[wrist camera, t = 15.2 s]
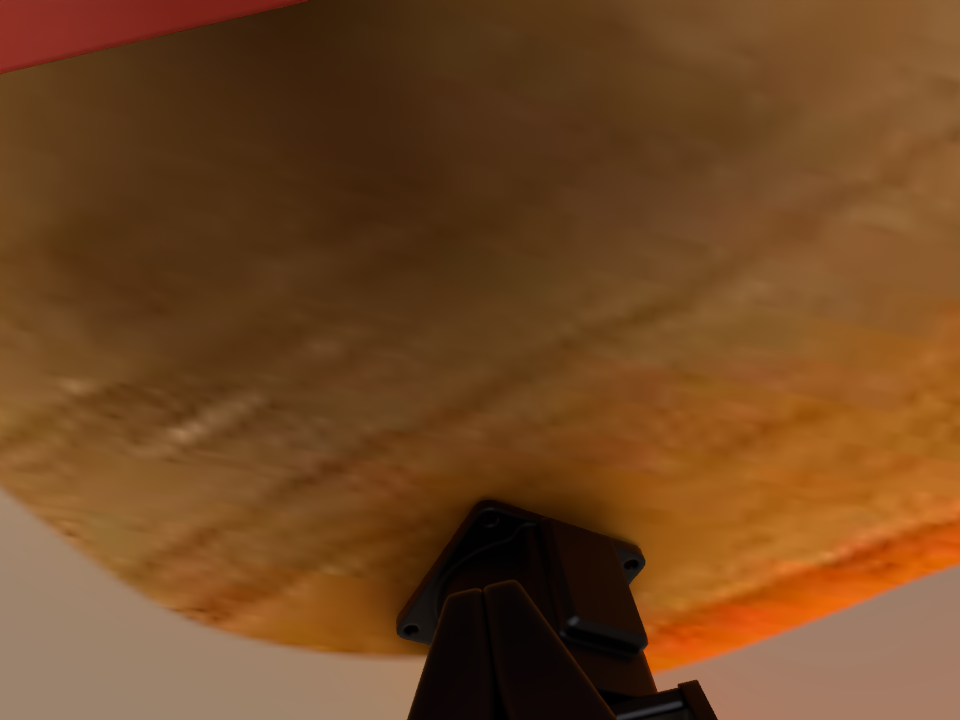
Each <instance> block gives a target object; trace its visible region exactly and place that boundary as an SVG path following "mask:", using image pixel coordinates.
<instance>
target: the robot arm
mask: <svg viewBox="0 0 960 720" xmlns="http://www.w3.org/2000/svg"><path fill="white" fill-rule="evenodd" d="M489 514H490V515H493V516H491V517H484V516H486V515H489ZM628 560H629V561H628ZM644 566H645V558H644V556H643V553H642V551H641V549H640V548H638V547H637V546H634V545H631V544H628V543H625V542H622V541H619V540H616V539H613V538H610V537H608V536H605V535H601V534H598V533H595V532H592V531H589V530H586V529H583V528H580V527H577V526H574V525H571V524H568V523H564V522H561V521H558V520H555V519H552V518H548V517H545V516H542V515H539V514H536V513H532V512H529V511H526V510H523V509H520V508H517V507H514V506H511V505H508V504H505V503H502V502H499V501H495V500H484V501H481V502H479V503H477V504H476V505H475V506H474V508H473V509H472V510H471V512H470V513H469V515H468V516H467V518H466V519H465V521H464V522H463V523H462V525H461V526H460V528H459V529H458V531H457V532H456V533H455V535H454V536H453V538H452V539H451V541H450V542H449V544H448V545H447V546H446V548H445V549H444V551H443V552H442V554H441V555H440V557H439V558H438V559H437V561H436V562H435V564H434V565H433V567H432V568H431V570H430V571H429V572H428V574H427V575H426V577H425V578H424V580H423V581H422V583H421V584H420V585H419V587H418V588H417V590H416V591H415V593H414V594H413V595H412V597H411V598H410V600H409V601H408V603H407V604H406V606H405V607H404V608H403V610H402V611H401V613H400V614H399V616H398V617H397V620H396V628H397V634H398V635H399V636H400V637H402V638H404V639H407V640H412V641H416V642H420V643H424V644H428V645H431V646H430V650H429V653H428V656H427V659H426V662H425V666H424V669H423V672H422V675H421V678H420V681H419V684H418V688H417V690H416V693H415V697H414V700H413V703H412V706H411V709H410V713H409V716H408V719H407V720H718V719H717V717H716V715H715V714H714V711H713V709H712V708H711V706H710V704H709V702H708V700H707V698H706V696H705V694H704V692H703V690H702V688H701V686H700V684H699V682H698V681H697V680H693V681H689V682H684V683H680V684H678V688H674V689H670V690H666V691H661V692H657V689H656V686H655V683H654V680H653V677H652V674H651V672H650V669H649V666H648V663H647V660H646V657H645V654H644V652H643V650H644V649H645V647H646V646H647V645H648V639H647V635H646V632H645V630H644V627H643V624H642V621H641V618H640V616H639V613H638V610H637V607H636V605H635V602H634V599H633V596H632V594H631V591H630V588H629V584H630V583H631V581H632V580H633V579H634V578H635V577H636V576H637V575H638V573H639V572H640V571H641V570H642V569H643V567H644Z"/></svg>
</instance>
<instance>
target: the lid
mask: <svg viewBox="0 0 960 720" xmlns="http://www.w3.org/2000/svg"><path fill="white" fill-rule="evenodd" d="M306 1H310V0H0V74H2V73H6V72H10V71H15V70H19V69H23V68H27V67H32V66H36V65H40V64H44V63H48V62H53V61H57V60H61V59H65V58H70V57H74V56H78V55H82V54H86V53H91V52H95V51H99V50H103V49H108V48H112V47H116V46H120V45H124V44H129V43H133V42H137V41H141V40H146V39H150V38H154V37H158V36H162V35H167V34H171V33H175V32H179V31H184V30H188V29H192V28H196V27H200V26H205V25H209V24H213V23H217V22H222V21H226V20H230V19H234V18H238V17H243V16H247V15H251V14H255V13H260V12H264V11H268V10H272V9H276V8H281V7H285V6H289V5H293V4H298V3H302V2H306Z"/></svg>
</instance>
